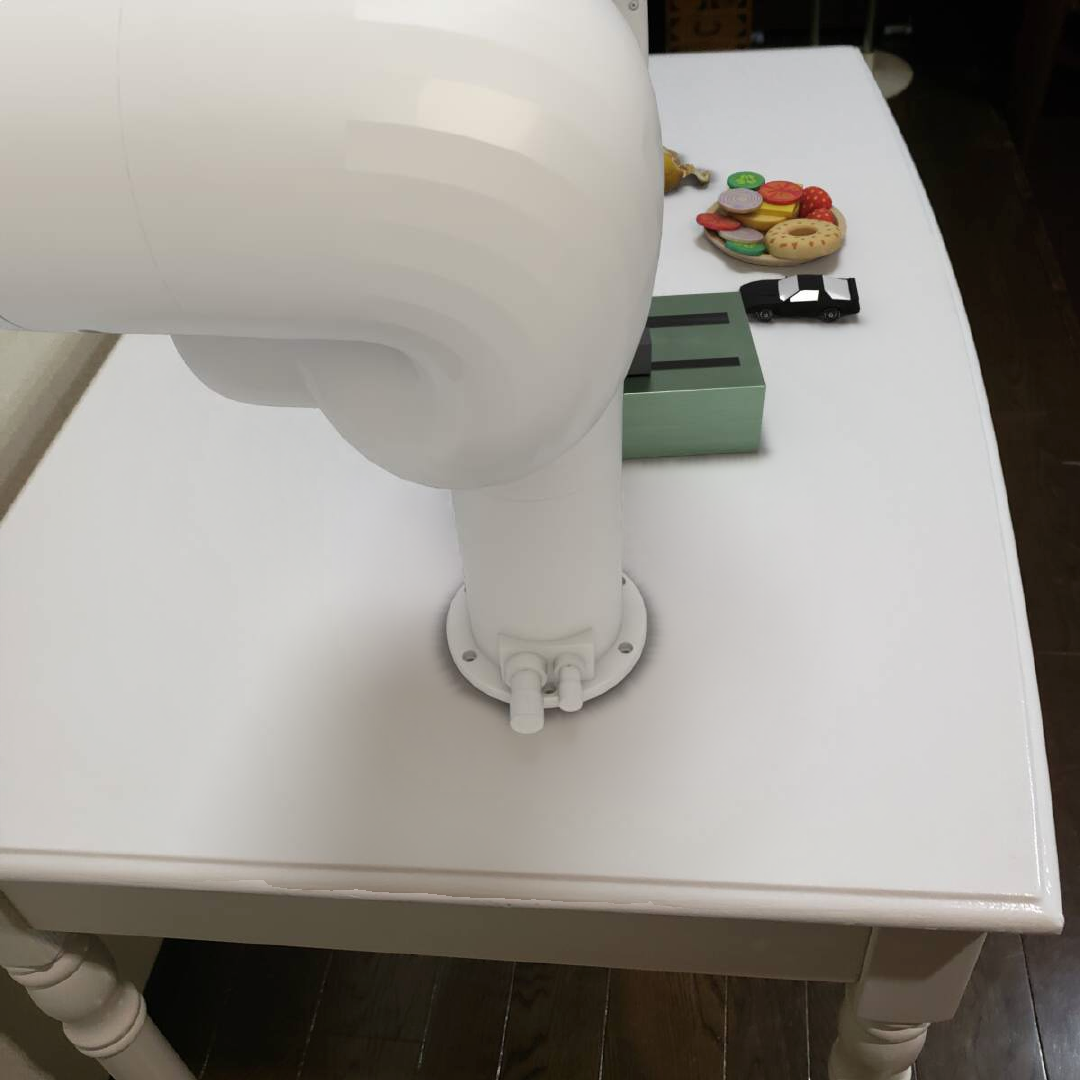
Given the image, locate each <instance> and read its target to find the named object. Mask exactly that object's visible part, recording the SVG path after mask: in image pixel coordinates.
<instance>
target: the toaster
mask: <svg viewBox="0 0 1080 1080" xmlns="http://www.w3.org/2000/svg"><path fill="white" fill-rule="evenodd" d="M645 327H649V330H650V336H651V342H652V357H651V374H634V375H626V377H625V379H624V385H623V408H622V460H627V459H628V460H629V459H630V460H631V459H647V458H666V457H684V456H701V455H721V454H735V453H736V454H737V453H753V452H759V451H760V444H761V434H762V425H763V417H764V416H763V415H764V407H765V399H766V391H767V390H766V389H767V385H766V381H765V378H764V373H763V370H762V367H761V363H760V359H759V356H758V352H757V349H756V348H757V347H756V345H755V341H754V338H753V334H752V330H751V327H750V323H749V319H748V314H746V312H745V308H744V304H743V301H742V297H741V294H740V291H739V290H738V291H725V292H724V291H723V292H722V291H721V292H707V293H688V294H687V293H686V294H672V295H656V296H655V295H654V296H653V295H652V300H651V306H650V310H649V314H648V318H647V322H646V325H645Z"/></svg>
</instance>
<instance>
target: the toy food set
mask: <svg viewBox="0 0 1080 1080" xmlns="http://www.w3.org/2000/svg"><path fill="white" fill-rule="evenodd" d="M726 184H727V186H728V188H727V190H724V191H722V192H721V193H720V194H718V197H717V201H716V202H714V203H712V205H710V206H709V207H708V209H707V210H706V212H701V213H699V214H697V215H696V217H695V221H696V223H697V224H698V225H700V226H701V227H703V229H704V232H705V234H706V236H707V237H708V239H709V240H710V241H711V242H712V243H713V245H715V246H716V247H717V248H718V249H719V250H721V251H722V252H723V253H725V254H727V255H729V256H730V257H732V258H734V259H735V260H739V261H741V262H746V263H749V264H753V265H758V266H766V267H789V266H795V265H797V266H798V265H803V264H805V263H808V262H812V261H814V260H817V259H819V258H821V257H824V256H828V255H830V254H833V253H835V252H836V251H838V250H839V249H840V248H841V246H842V241H843V239H844V237H845V236H846V233H847V228H848V226H847V221H846V218H845V216H844V215H843V213H842V212H841V211H840V210H839V209H838V208H837V207H835V206H834V205H833V200H832V197H831V196H830V194H828V192H827V191H826V190H824V189H823V188H822V187H819V186H815V185H810V186H807V187H805V188H804V184H803V183H797V182H793V181H789V180H772V181H768V182H766V179H765V176H764V175H762V174H760V173H758V172H755V171H748V170H747V171H738V172H734V173H732V174H730V175H729V176H728V177H727V178H726Z"/></svg>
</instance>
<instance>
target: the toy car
mask: <svg viewBox="0 0 1080 1080" xmlns="http://www.w3.org/2000/svg"><path fill="white" fill-rule="evenodd" d="M738 291H740V294H741V297H742V301H743V304H744V308H745V312H746V315H757V318H758V320H759V321H760V322H762V323H768V322H770V321H772V320H773V319H774V318H821V317H822V320H823V321H824V322H826V323H834V322H836V321H837V320H838V319H839V318H840V316H841V317H843V316H851V315H857V314H859V313H860V311H861V305H860V304H861V303H860V296H859V291H858V286H857V281H856V278H855V277H844V278H843V277H832V276H829V275H825V274H819V273H818V274H816V273H815V274H814V273H811V274H809V273H806V274H803V273H801V274H795V275H791V276H788V275H785V277H783V278H766V279H758V280H757V279H756V280H752V281H749V282H747V283H744V284H742V285H740V286H739V290H738Z"/></svg>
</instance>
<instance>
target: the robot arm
mask: <svg viewBox="0 0 1080 1080" xmlns="http://www.w3.org/2000/svg"><path fill="white" fill-rule="evenodd" d="M648 15H649V14H648V0H0V330H8V331H16V332H35V333H58V334H59V333H60V334H61V333H63V334H64V333H65V334H112V335H113V334H115V335H117V334H118V335H164V336H165V335H166V336H170V338H171V341H172V343H173V345H174V347H175V349H176V351H177V353H178V354H179V356H180V358H181V359H182V361H183V362H184V364H185V365H186V367H187V368H188V369H189V371H190V372H191V373H192V374H193V375H194V377H196V378H197V379H198V380H199V381H200V382H201V383H202V384H203V385H205V387H207V388H208V389H210V390H211V391H213V392H214V393H216V394H218V395H219V396H222V397H224V398H226V399H229V400H232V401H235V402H237V403H243V404H248V405H253V406H263V407H273V408H275V407H277V408H298V409H299V408H300V409H301V408H303V409H319V411H320V412H321V413H322V415H324V417H325V418H326V420H328V422H329V423H330V424H331V425H332V427H333V428H334V429H335V430H336V432H337V433H338V434H339V435H340V436H341V438H343V439H344V440H345V441H346V442H347V443H348V444H349V445H350V446H352V448H354V449H355V451H357V452H358V453H359V454H361V455H362V456H363V457H364V458H366V459H367V460H368V461H369V462H371V463H373V464H374V465H376V466H378V468H381V469H383V470H384V471H386V472H388V473H390V474H391V475H393V476H395V477H397V478H399V479H400V480H401V479H402V480H405V481H408V482H411V483H415V484H417V485H421V486H424V487H427V488H432V489H438V490H441V489H442V490H450V493H451V500H452V507H453V513H454V519H455V527H456V533H457V540H458V547H459V554H460V559H461V560H460V561H461V567H462V574H463V583H462V584H461V586H460V587H459V588H458V589H457V591H456V593H455V595H454V597H453V598H452V600H451V602H450V605H449V609H448V613H447V615H446V626H445V627H446V629H445V630H446V631H445V633H446V638H447V645H448V649H449V652H450V655H451V657H452V661H453V663H454V664H455V666H456V667H457V669H458V671H459V672H460V674H461V675H462V677H464V678H465V679H466V680H467V681H468V682H469V683H470V684H472V686H473V687H475V688H476V689H478V690H479V691H481V692H483V693H484V694H486V695H487V696H488V697H491V698H493V699H497V700H499V701H501V702H503V703H506V704H509V724H510V728H511V729H512V730H513V731H514V732H516V733H519V734H522V735H531V734H535V733H538V732H540V731H541V730H542V729H543V728H544V726H545V709H554V708H560V710H562V711H564V712H568V713H569V712H570V713H571V712H573V713H574V712H577V711H579V710H580V709H582V708H583V706H584V703H585V702H587V701H589V700H592V699H594V698H596V697H598V696H601V695H603V694H605V693H606V692H608V691H609V690H611V689H612V688H614V687H615V686H617V685H618V684H619V683H620V682H622V681H623V679H625V677H627V676H628V674H630V673H631V672H632V670H633V668H634V667H635V666H636V664H637V663H638V661H639V660H640V658H641V655H642V653H643V651H644V649H645V645H646V641H647V632H648V612H647V609H646V604H645V600H644V598H643V596H642V594H641V592H640V591H639V588H638V587H637V585H636V583H635V582H633V580H632V579H631V578H630V577H629V576H628V574H626V573H625V572H624V571H623V459H622V408H623V385H624V379H625V377H626V375H627V373H628V370H629V368H630V365H631V363H632V360H633V358H634V355H635V352H636V349H637V347H638V344H639V342H640V339H641V336H642V333H643V331H644V328H645V325H646V322H647V318H648V314H649V310H650V306H651V300H652V296H653V294H654V290H655V283H656V278H657V277H656V276H657V270H658V265H659V259H660V255H661V246H662V237H663V227H664V211H665V210H664V207H665V194H664V154H663V146H664V145H663V144H664V143H663V131H662V127H661V126H662V125H661V120H660V119H661V118H660V113H659V108H658V101H657V96H656V92H655V88H654V84H653V82H652V79H651V75H650V72H649V62H650V61H649V59H650V58H649V55H650V54H649V17H648Z"/></svg>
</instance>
